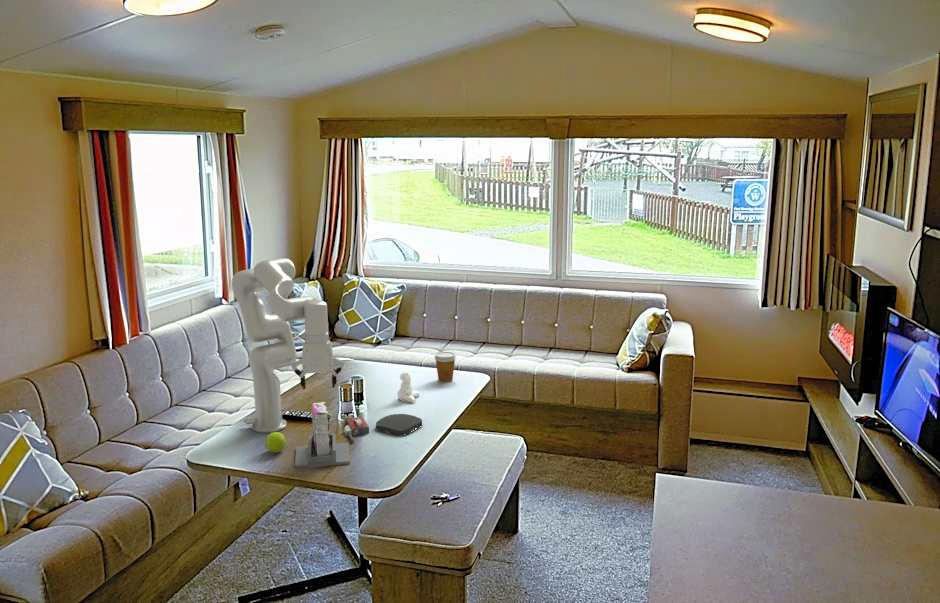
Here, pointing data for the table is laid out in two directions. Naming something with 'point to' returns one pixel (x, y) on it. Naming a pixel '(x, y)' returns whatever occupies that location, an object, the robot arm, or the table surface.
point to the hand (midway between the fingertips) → (318, 387)
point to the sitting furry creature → (407, 389)
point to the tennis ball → (275, 442)
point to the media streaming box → (398, 424)
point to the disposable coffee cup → (445, 366)
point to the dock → (309, 458)
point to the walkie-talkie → (355, 427)
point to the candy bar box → (320, 429)
